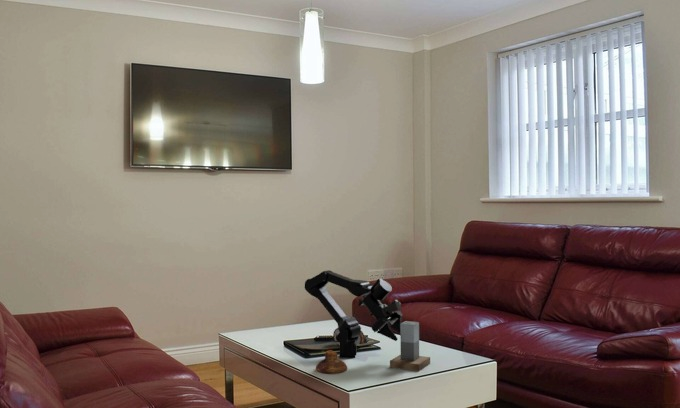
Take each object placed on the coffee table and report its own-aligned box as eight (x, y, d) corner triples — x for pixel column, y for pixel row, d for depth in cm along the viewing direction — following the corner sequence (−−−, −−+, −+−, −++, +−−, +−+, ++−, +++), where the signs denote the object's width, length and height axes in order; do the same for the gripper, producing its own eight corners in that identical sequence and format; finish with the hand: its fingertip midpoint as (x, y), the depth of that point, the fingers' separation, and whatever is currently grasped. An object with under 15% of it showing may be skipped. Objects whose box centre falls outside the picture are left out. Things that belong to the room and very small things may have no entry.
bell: (315, 366, 242) (315, 348, 242) (346, 365, 243) (345, 347, 243) (316, 375, 231) (316, 355, 231) (348, 374, 232) (348, 354, 232)
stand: (389, 367, 240) (389, 360, 240) (401, 360, 250) (401, 353, 250) (419, 371, 234) (419, 364, 234) (430, 363, 245) (430, 357, 245)
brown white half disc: (365, 347, 272) (364, 328, 272) (361, 349, 270) (361, 329, 270) (336, 343, 280) (335, 325, 280) (332, 345, 278) (332, 326, 278)
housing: (400, 359, 241) (400, 323, 241) (406, 356, 246) (405, 321, 246) (414, 361, 239) (413, 324, 239) (419, 358, 243) (418, 322, 243)
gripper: (379, 297, 238) (406, 329, 233) (398, 290, 254) (423, 320, 249) (360, 316, 242) (386, 347, 237) (380, 308, 258) (405, 338, 253)
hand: (401, 337), depth 244 cm, fingers open, 9 cm apart
